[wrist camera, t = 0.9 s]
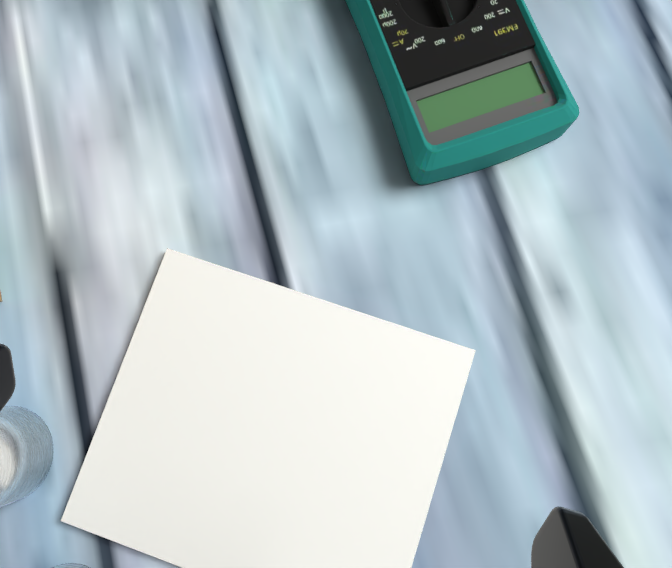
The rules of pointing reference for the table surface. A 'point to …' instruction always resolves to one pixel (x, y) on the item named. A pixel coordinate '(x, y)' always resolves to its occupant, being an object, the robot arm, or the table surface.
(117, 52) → the table surface
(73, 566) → the cylinder
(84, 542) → the table surface
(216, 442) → the white mat
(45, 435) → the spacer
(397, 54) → the digital multimeter
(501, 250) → the table surface
